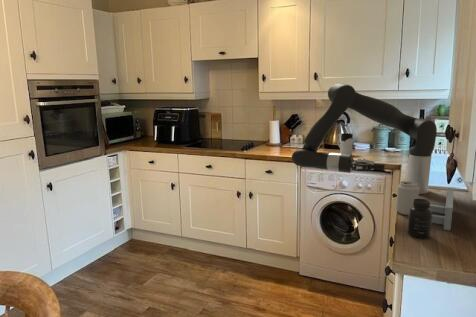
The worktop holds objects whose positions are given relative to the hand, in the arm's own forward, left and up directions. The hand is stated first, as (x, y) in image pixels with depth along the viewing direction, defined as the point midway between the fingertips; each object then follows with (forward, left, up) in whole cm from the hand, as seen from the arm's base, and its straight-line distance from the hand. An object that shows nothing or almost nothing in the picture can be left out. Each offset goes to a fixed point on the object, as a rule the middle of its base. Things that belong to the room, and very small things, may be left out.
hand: (384, 167), depth 144 cm
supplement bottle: (+22, +15, -17) cm, 31 cm away
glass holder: (-105, -42, -17) cm, 114 cm away
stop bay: (0, +20, -17) cm, 26 cm away
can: (0, +9, -17) cm, 19 cm away
